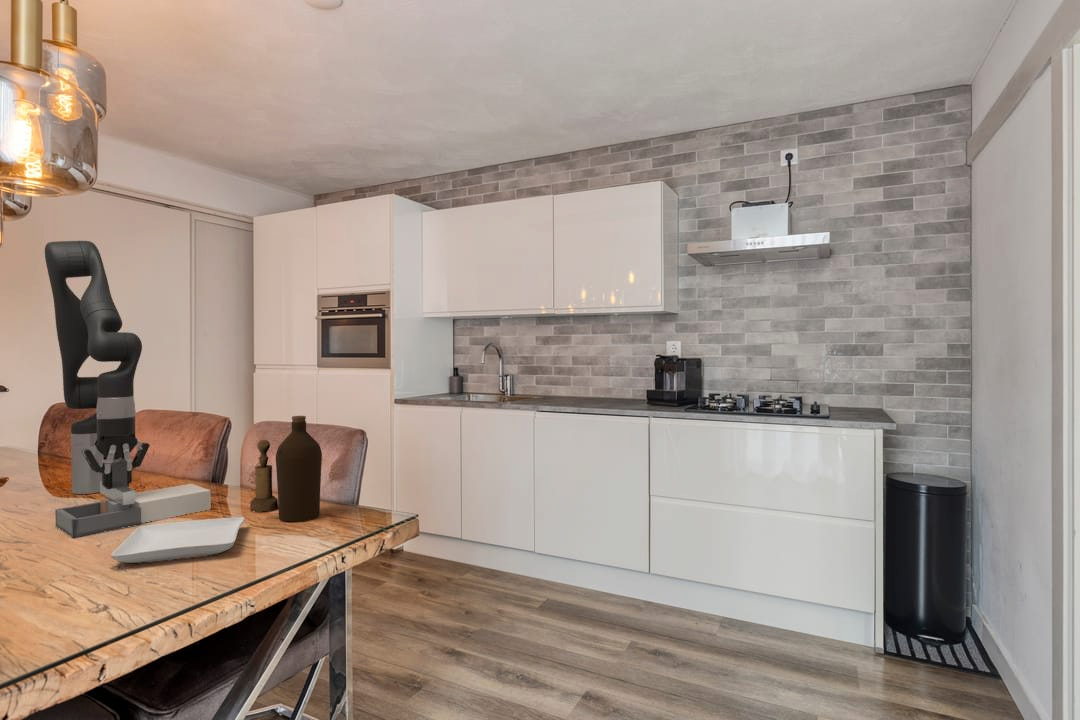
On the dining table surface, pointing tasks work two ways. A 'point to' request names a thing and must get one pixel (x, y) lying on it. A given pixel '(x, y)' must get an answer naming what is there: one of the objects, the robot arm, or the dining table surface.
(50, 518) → the dining table surface
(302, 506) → the olive oil
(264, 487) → the brown chess piece
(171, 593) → the dining table surface
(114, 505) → the pale grey box
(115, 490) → the scraper
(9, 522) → the dining table surface
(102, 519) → the box
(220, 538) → the salad plate
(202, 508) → the long rectangular box
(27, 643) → the dining table surface
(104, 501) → the tan block
